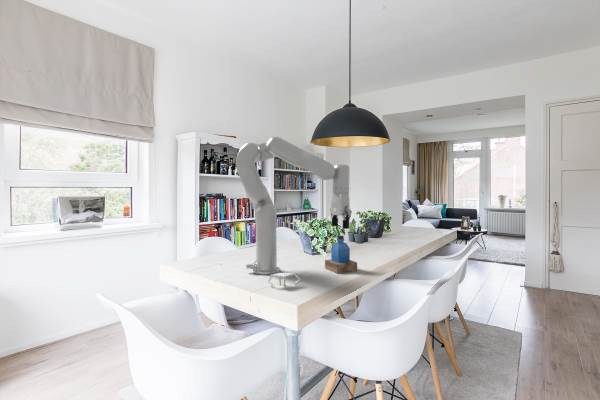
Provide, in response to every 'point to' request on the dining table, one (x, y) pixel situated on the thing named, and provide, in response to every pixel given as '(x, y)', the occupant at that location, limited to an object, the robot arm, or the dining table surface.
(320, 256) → the dining table surface
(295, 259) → the dining table surface
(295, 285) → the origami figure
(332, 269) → the walnut block
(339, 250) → the perfume bottle
